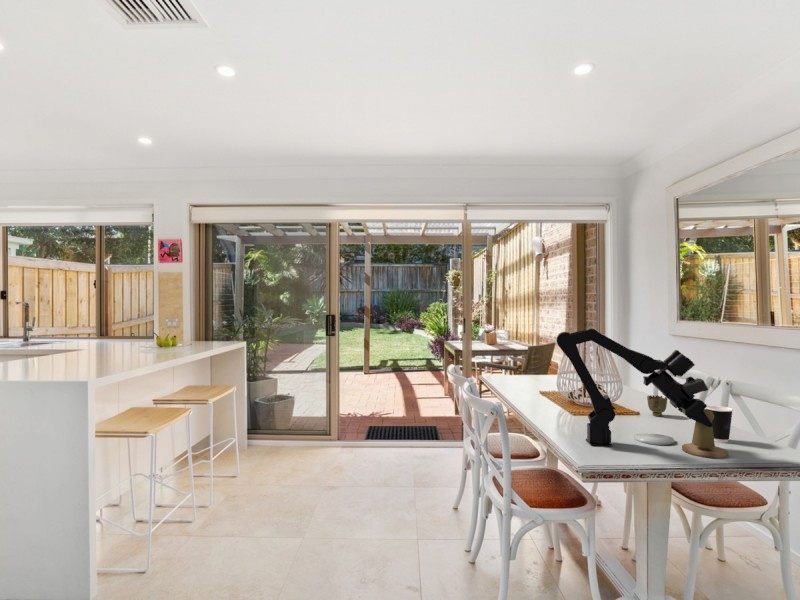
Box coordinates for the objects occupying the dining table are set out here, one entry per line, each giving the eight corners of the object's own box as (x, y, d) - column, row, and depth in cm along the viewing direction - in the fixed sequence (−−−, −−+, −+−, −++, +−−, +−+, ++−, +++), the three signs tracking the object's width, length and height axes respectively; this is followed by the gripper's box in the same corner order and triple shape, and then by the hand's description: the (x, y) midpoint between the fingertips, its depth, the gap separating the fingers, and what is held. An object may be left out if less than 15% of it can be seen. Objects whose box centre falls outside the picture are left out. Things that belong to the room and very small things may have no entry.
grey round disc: (671, 446, 147) (671, 443, 147) (630, 441, 154) (630, 438, 154) (676, 439, 156) (675, 436, 156) (637, 434, 164) (637, 431, 164)
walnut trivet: (694, 457, 137) (694, 454, 137) (674, 445, 149) (674, 442, 149) (737, 459, 136) (737, 455, 136) (714, 447, 147) (713, 443, 147)
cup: (643, 414, 193) (642, 395, 193) (656, 413, 195) (656, 394, 195) (657, 418, 185) (657, 398, 186) (671, 417, 188) (671, 397, 188)
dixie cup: (735, 445, 149) (735, 411, 150) (706, 441, 153) (706, 409, 153) (732, 439, 156) (731, 407, 156) (704, 436, 160) (703, 404, 160)
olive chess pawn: (700, 440, 147) (701, 406, 146) (719, 446, 141) (720, 411, 141) (687, 442, 144) (687, 408, 144) (705, 449, 139) (706, 413, 138)
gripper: (698, 373, 135) (742, 414, 131) (680, 366, 153) (718, 401, 149) (668, 398, 137) (711, 438, 134) (654, 388, 155) (691, 423, 151)
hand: (708, 424), depth 142 cm, fingers closed on olive chess pawn, 5 cm apart
